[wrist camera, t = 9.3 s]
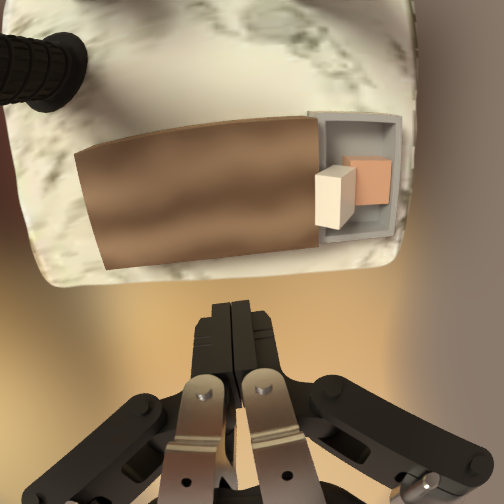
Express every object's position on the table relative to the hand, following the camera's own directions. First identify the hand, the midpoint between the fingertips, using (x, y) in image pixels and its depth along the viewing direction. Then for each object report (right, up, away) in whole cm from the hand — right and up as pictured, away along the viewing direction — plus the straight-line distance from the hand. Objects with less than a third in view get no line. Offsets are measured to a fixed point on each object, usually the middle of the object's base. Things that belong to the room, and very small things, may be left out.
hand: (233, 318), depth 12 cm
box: (+12, +12, +20) cm, 26 cm away
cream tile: (+8, +9, +17) cm, 21 cm away
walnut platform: (-5, +10, +19) cm, 22 cm away
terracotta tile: (+13, +10, +17) cm, 24 cm away
